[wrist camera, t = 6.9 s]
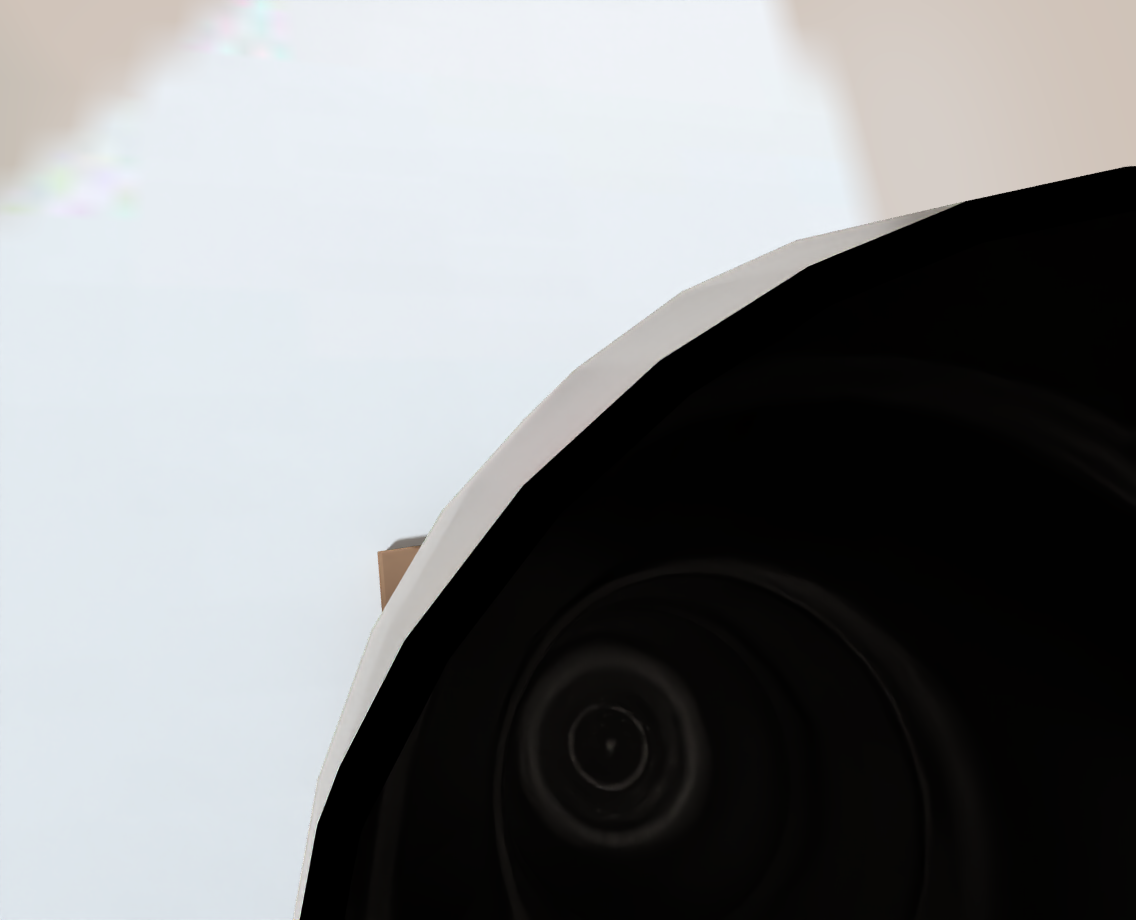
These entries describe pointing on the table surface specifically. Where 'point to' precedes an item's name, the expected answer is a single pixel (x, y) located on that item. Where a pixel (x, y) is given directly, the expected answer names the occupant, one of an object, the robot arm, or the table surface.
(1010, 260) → the silver metal bottle
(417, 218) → the table surface
